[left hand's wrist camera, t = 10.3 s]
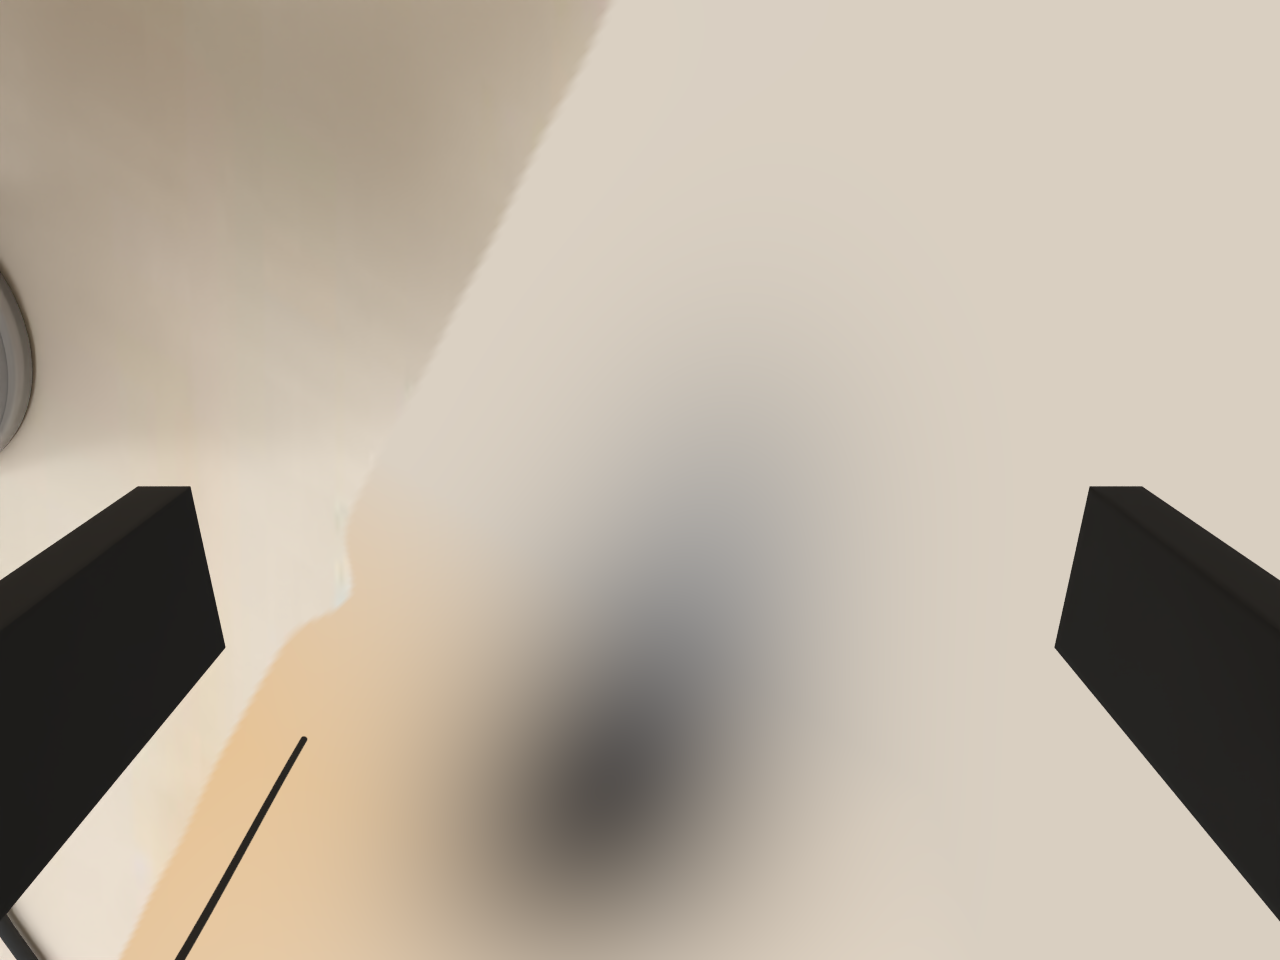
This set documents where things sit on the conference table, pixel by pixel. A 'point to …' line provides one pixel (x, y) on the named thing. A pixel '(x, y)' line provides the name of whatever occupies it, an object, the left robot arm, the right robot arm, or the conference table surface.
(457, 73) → the conference table surface
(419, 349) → the conference table surface
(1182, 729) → the left robot arm
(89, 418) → the conference table surface
